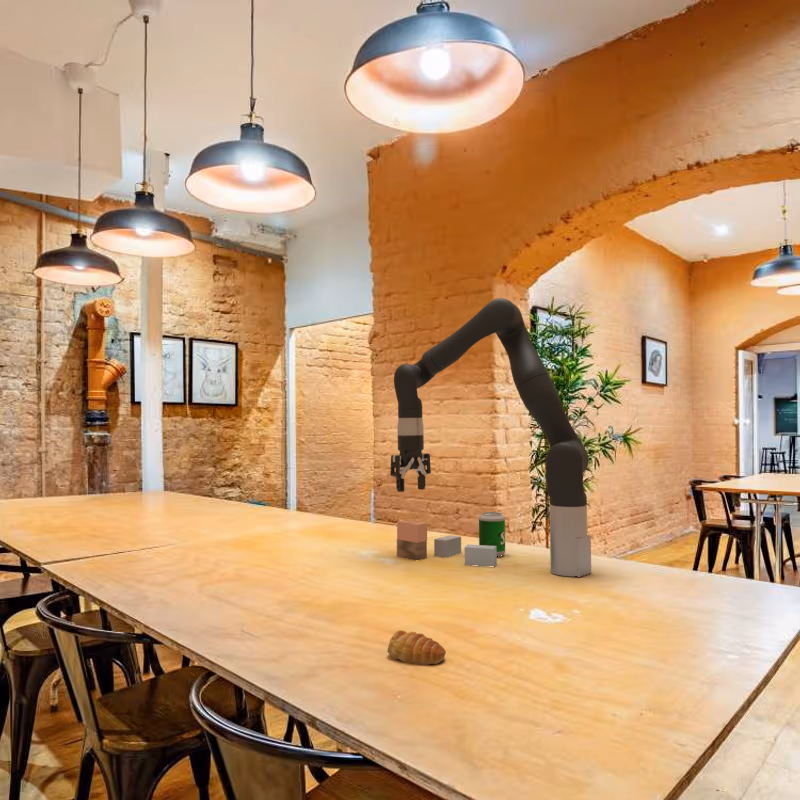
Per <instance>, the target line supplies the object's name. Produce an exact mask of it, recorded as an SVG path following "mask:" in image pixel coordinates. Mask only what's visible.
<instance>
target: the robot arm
mask: <svg viewBox="0 0 800 800" xmlns="http://www.w3.org/2000/svg"><path fill="white" fill-rule="evenodd" d="M493 334H496V336H497V337H498V339H499V341H500V342H501V344H502V347H503V348H504V349H505V350H504V351H505V352H506V354H507V358H508V360H509V366H510V371H511V376H512V379H513V382H514V385H515V389H516V390H517V392H518V395H519V397H520V399H521V401H522V404H523V405H524V407H525V408H526V410H527V411H528V413H529V414H530V415H531V417H533V419H534V420H535V422H536V423H537V424H538V425H539V426H540V428H541V430H542V432H543V433H544V435H545V437H546V439H547V442H548V444H549V447H550V448H549V450H548V452H547V453H546V458H545V473H546V475H545V476H546V477H545V478H546V490H547V494H548V495H547V496H548V499H549V549H550V550H549V557H550V558H549V559H550V560H549V561H550V562H549V563H550V565H549V566H550V572H551V574H554V575H558V576H562V577H563V576H564V577H575V576H577V578H581V576H582V577H584V576H587V575H590V574H592V539H591V535H590V534H588V500H587V499H588V496H587V494H586V492H585V487H584V473H585V472H586V471H587V468H588V467H589V463H590V462H589V460H590V459H589V453H588V451H587V449H586V448H585V446H584V444H583V443H582V441H581V439H580V438H579V436H578V434H577V432H576V431H575V429H574V427H573V426H572V424H571V423H570V420H569V418H568V415H567V413H566V411H565V408H564V405H563V404H562V403H563V402H562V401H561V398H560V396H559V394H558V391H557V389H556V387H555V384H554V382H553V380H552V378H551V376H550V373H549V371H548V370H547V368H546V366H545V364H544V362H543V360H542V359H541V356H540V355H539V353H538V351H537V350H536V349H535V347H534V345H533V343H532V341H531V338H530V336H529V333H528V329H527V326H526V323H525V320H524V318H523V315H522V312H521V311H520V309H519V307H518V306H517V305H516V304H514V303H513V302H512V301H511V300H509V299H507V298H503V297H500V298H495V299H492V300H491V301H489V302H488V303H487V304H486V305H485V306H484V307H482V308H481V309H480V310H479V311H478V312H477V313H476V314H475V315H474V316H473V317H471V318H470V319H469V320H468V321H467V322H466V323H465V324H463V325H462V326H461V327H460V328H459V329H456V330H455V331H454V332H453V333H452V334H451V335H449V336H448V337H446V338H444V339H443V340H441V341H439V342H438V343H437V344H436V345H434V346H433V347H431V348H430V349H428V350H426V351H425V352H424V353H423V354H421V355H422V356H421V359H419V360H418V361H417V362H415V363H413V364H408V363H404V364H401V365H399V366H397V368H396V369H395V372H394V375H393V385H394V390H395V391H394V392H395V396H396V399H397V450H398V451H399V454H392V455H391V456H390V476H391V477H393V478H395V479H396V480H395V481H396V487H395V488H396V491H397V492H398V493H404V492H405V478H404V477H405V476H406V473H408V472H409V471H411V470H413V471H415V473H416V474H417V489H418V490H425V489H426V486H427V485H426V476H428V475H430V474H431V472H432V470H431V469H432V468H431V467H432V466H431V454H430V453H426V452H422V451H423V450H424V448H425V443H424V441H425V440H424V439H425V438H424V437H425V435H424V434H425V433H424V432H425V431H424V428H425V427H424V421H423V419H424V418H423V403H422V402H423V401H422V400H421V398H420V397H419V394H418V389H420V388H422V387H423V386H425V385H426V384H428V383H429V382H430V381H431V380H432V379H433V378H434V377H435V376H436V375H437V374H438V373H440V372H442V371H444V370H445V369H447V368H448V367H450V366H452V365H453V364H454V363H456V362H457V361H459V360H460V358H462V357H463V356H464V355H465V354H466V353H467V352H468V351H469V349H471V348H472V347H473V346H474V345H476V343H479V341H481V340H483V339H485V338H486V337H488V336H491V335H493ZM589 573H590V574H589ZM586 574H587V575H586ZM583 575H584V576H583Z"/></svg>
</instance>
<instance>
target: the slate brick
mask: <svg viewBox="0 0 800 800" xmlns="http://www.w3.org/2000/svg"><path fill="white" fill-rule="evenodd" d="M433 541H434V542H433V543H434V545H433V547H434V549H433V550H434V553H433V554H434V557H437V556H438V558H443V557H447V558H450V557H454V556H456V554H457V555H460V554H462V536H459V535H452V534H451V535H450V534H448V535H444V536H442V537H441V536H440V537H436V538H434V539H433ZM459 553H460V554H459ZM453 555H454V556H453ZM449 556H450V557H449Z"/></svg>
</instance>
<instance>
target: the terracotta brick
mask: <svg viewBox="0 0 800 800" xmlns="http://www.w3.org/2000/svg"><path fill="white" fill-rule="evenodd" d="M397 539H399V540H405V541H410V542H416V543H419V542H424V541H428V523H427V522H423V521H416V520H408V519H407V520H406V519H405V520H400V521H397V522H396V540H397Z"/></svg>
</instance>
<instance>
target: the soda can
mask: <svg viewBox="0 0 800 800" xmlns="http://www.w3.org/2000/svg"><path fill="white" fill-rule="evenodd" d="M478 545H486V546H497V556H501V555H504V554H506V517H505V516H504V515H503V513H501V512H495V511H488V512H487V511H486V512H482V513H481V514H480V515H479V516H478ZM501 557H502V556H501Z"/></svg>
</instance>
